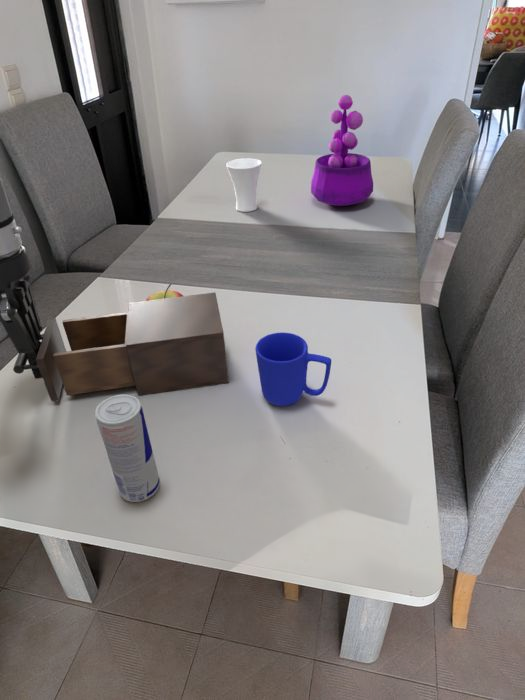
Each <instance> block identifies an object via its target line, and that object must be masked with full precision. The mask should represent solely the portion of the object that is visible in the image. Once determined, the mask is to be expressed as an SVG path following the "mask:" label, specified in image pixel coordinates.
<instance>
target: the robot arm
mask: <svg viewBox="0 0 525 700" xmlns="http://www.w3.org/2000/svg"><path fill="white" fill-rule="evenodd" d="M1 176H2V174H1V173H0V323H1V325H2V326H3V328H4V330H5V331H6V333H7V335H8V337H9V339H10V341H11V342H12V345H13V346H14V348H15V349H16V351H17V354H20V353H25V354H26V357H27V362H28V364H35V363H37V362H36V357H37V354H38V351H39V348H40V345H41V342H42V338H43V335H44V333H42V334H41V332H43V326H42V323H41V318H40V315H39V311H38V308H37V304H36V299H35V296H34V293H33V288H32V282H31V281H32V280H31V276H30V274H29V273H30V272H31V269H32V265H31V263H30V262H31V261H30V260H29V257H28V254H27V251H26V248H25V247H24V246H23V245H22V244H23V240H22V237H21V233H22V232H23V229H22V227H21V226H18V225H17V222H16V220H15V217H14V214H13V211H12V208H11V206H10V202H9V199H8V196H7V192H6V189H5V186H4V183H3V179H2V177H1ZM31 372H32V374H33V377H34V380H37V379H43V378H42V375H41V372H40V370H39V368H33V369H31Z"/></svg>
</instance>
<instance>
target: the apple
mask: <svg viewBox="0 0 525 700" xmlns="http://www.w3.org/2000/svg"><path fill="white" fill-rule="evenodd" d="M171 286H172V283H169V285H168V286H167V287H166V289H165V290H162V291H158V292H154V293H152V294H150V295H149V296H148V297H147V298H146V299H145V301H149V300H157V299H165V298H173V297H181V296H184V295H183V294H182V293H180V292H178V291H176V290H172V289H171V290H170V287H171Z"/></svg>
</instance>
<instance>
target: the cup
mask: <svg viewBox="0 0 525 700" xmlns="http://www.w3.org/2000/svg"><path fill="white" fill-rule="evenodd" d="M225 166H226V169H227V171H228V174H229V177H230V179H231V182H232V184H233V185H232V186H233V189H234V194H235V209H236V211H238V212H242V213H249V212H253V211H256V210H257V209H258V202H257V188H258V187H257V186H258V180H259V175H260V172H261V169H262V168H261V167H262V160H260V159H258V158H251V157H245V158H244V157H242V158H236V159H232V160H229V161H227V162H226V163H225Z"/></svg>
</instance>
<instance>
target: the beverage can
mask: <svg viewBox="0 0 525 700" xmlns="http://www.w3.org/2000/svg"><path fill="white" fill-rule="evenodd" d="M94 412H95V413H94V416H95V419H96V423H97V427H98V430H99V432H100V436H101V439H102V442H103V445H104V448H105V451H106V455H107V459H108V461H109V464H110V467H111V470H112V474H113V477H114V479H115V484H116V486H117V490H118V492H119V495H120V497H121V498H122V499H124V500H125V501H127V502H130V503H138V502H143V501H146V500H148V499H150V498H151V497H153V496H154V495H155V494H156V493H157V491H158V490H159V488H160V485H161V480H160V476H159V471H158V467H157V464H156V459H155V456H154V451H153V447H152V443H151V439H150V434H149V431H148V426H147V422H146V418H145V413H144V409H143V407H142V403H141V401H140V400H139V399H138V397H136V396H134V395H131V394H116V395H113V396H110V397H108V398H106V399H104V400H102V401H101V402H100V403H99V404H98V405H97V406H96V407H95V411H94Z"/></svg>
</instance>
